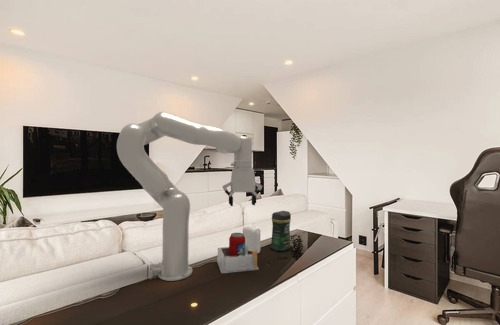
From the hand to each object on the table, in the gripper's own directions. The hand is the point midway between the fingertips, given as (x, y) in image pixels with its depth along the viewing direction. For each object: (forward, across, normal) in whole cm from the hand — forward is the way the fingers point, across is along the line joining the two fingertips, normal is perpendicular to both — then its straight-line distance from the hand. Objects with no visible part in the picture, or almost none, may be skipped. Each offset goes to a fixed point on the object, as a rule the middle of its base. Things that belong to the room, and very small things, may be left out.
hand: (242, 205), depth 110 cm
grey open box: (+24, -2, -2) cm, 25 cm away
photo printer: (+24, +7, +13) cm, 29 cm away
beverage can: (+24, -3, -2) cm, 24 cm away
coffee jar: (+24, +22, +12) cm, 35 cm away
